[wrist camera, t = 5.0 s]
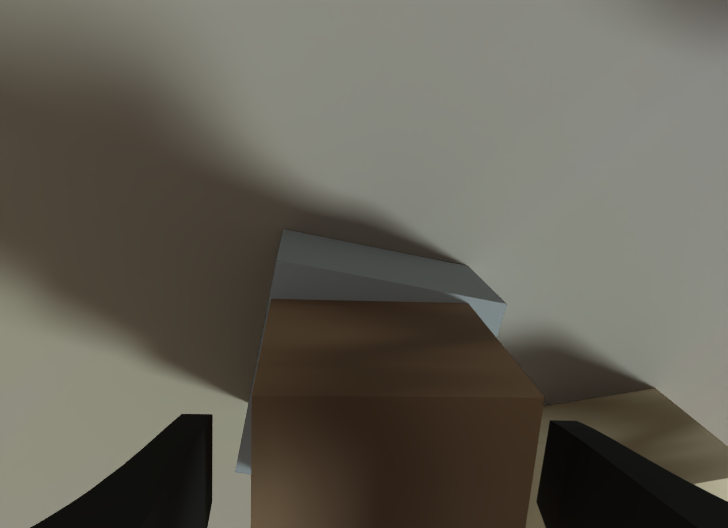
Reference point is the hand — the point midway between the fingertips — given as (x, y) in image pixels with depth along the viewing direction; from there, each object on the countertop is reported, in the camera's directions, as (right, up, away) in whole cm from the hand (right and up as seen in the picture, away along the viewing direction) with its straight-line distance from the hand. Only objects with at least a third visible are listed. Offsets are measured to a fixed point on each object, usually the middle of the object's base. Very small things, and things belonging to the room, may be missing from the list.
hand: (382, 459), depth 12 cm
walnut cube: (0, +1, +3) cm, 3 cm away
